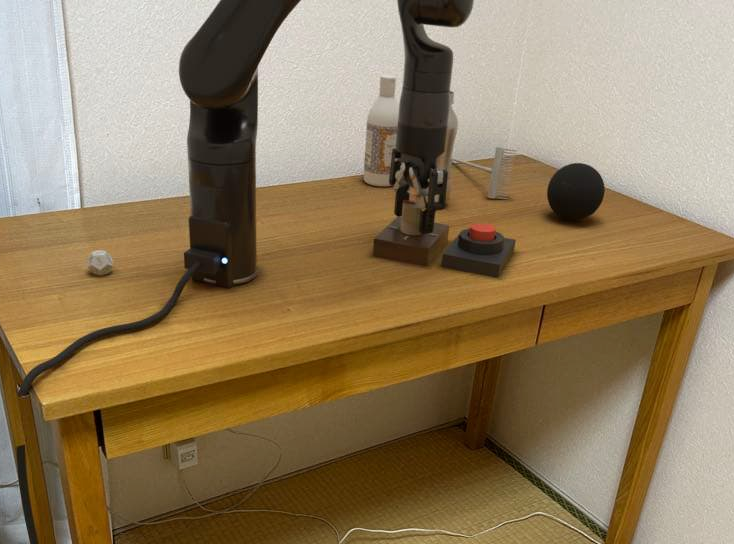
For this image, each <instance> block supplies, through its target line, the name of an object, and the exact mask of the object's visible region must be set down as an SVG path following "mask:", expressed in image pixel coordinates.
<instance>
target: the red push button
mask: <svg viewBox="0 0 734 544" xmlns="http://www.w3.org/2000/svg"><path fill="white" fill-rule="evenodd" d="M469 228H470V232H469V237H470V238H472V239H475V240H480V241H491V240H494V238H495V232H497V231H496V230H497V228H496V227H495V226H494V225H492V224H489V223H484V222H475V223H472V224H471V225H470V226H469Z"/></svg>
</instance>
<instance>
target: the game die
mask: <svg viewBox="0 0 734 544" xmlns="http://www.w3.org/2000/svg"><path fill="white" fill-rule="evenodd" d="M113 259H114V258H113V257H112V256H111V254H109V252H108V251H107V250H106V251H105V250H101V249H97V250H94V251H91V252H90V254H89V255H88V257H87V259H86V264H87V268H88V269H89V271H90V272H91V273H92V274H93V275H97V276H104V275H107V274H110V272H111V270H112V268H113V267H114V262H113V261H114V260H113Z"/></svg>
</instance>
